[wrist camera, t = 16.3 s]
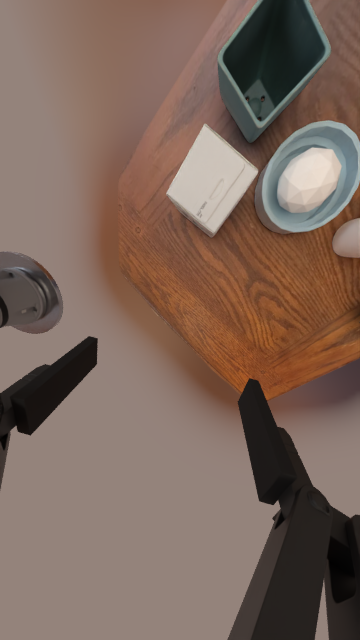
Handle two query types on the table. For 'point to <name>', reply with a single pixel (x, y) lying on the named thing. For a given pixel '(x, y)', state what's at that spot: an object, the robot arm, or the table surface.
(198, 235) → the table surface
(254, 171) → the ink box
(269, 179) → the bowl
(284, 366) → the table surface
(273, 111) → the flower pot
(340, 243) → the candle
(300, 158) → the geometric ball
